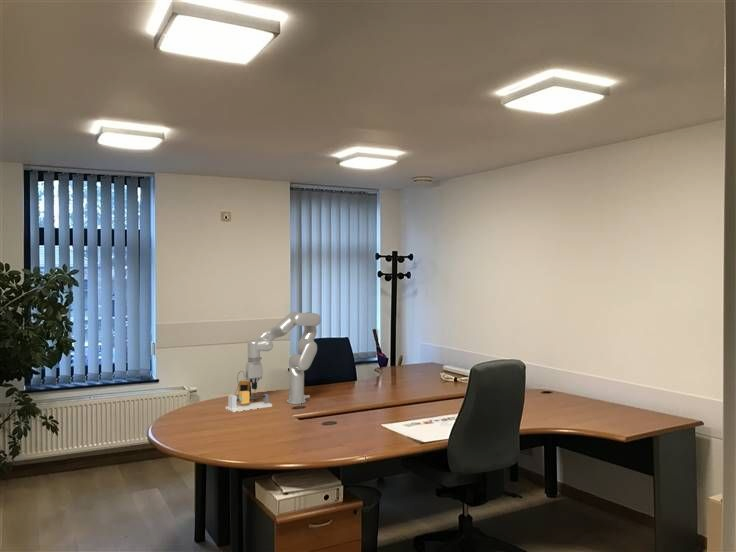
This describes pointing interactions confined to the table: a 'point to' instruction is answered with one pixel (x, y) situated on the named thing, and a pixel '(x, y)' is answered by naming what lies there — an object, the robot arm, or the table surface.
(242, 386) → the multimeter
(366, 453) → the table surface
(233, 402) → the board
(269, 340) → the robot arm
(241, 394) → the sleeve
